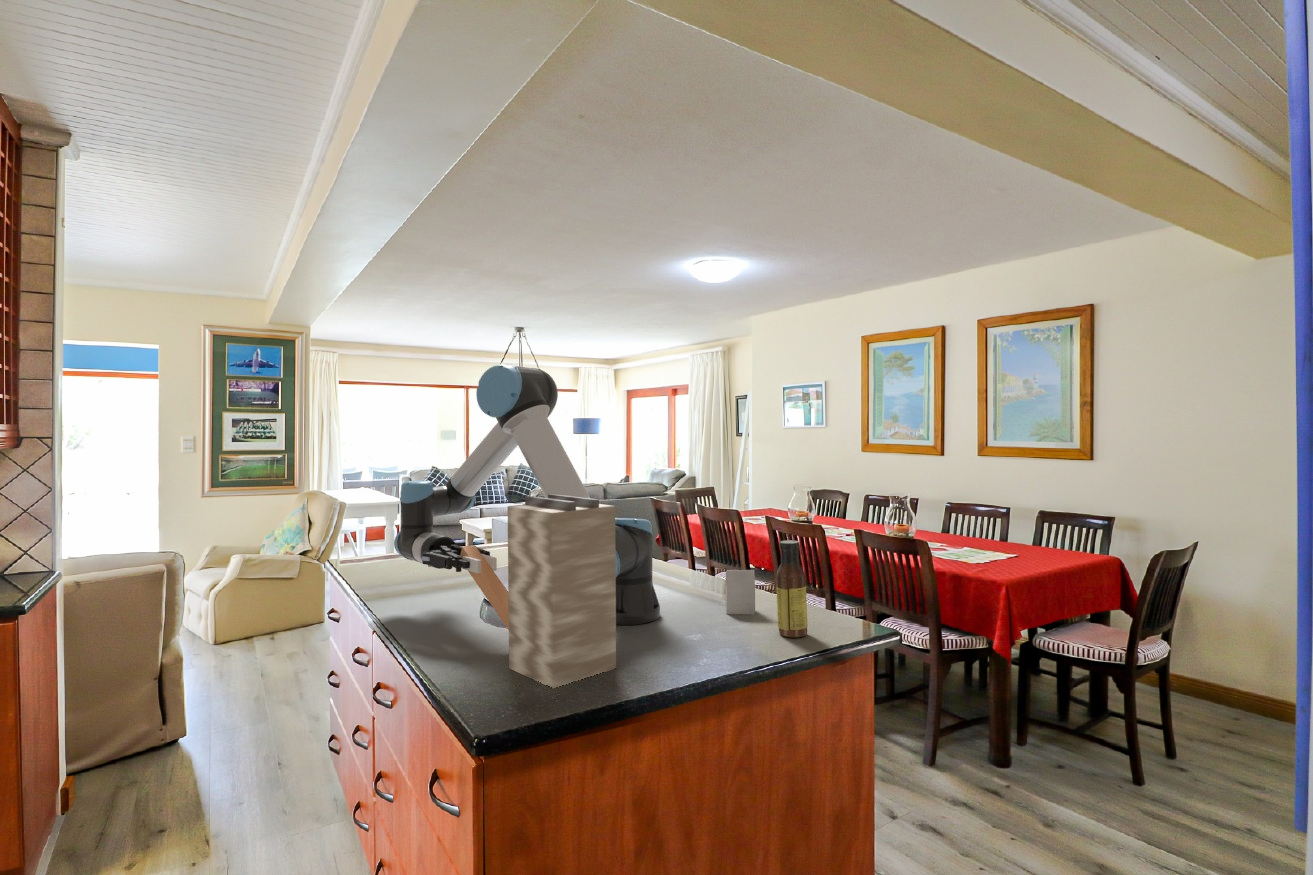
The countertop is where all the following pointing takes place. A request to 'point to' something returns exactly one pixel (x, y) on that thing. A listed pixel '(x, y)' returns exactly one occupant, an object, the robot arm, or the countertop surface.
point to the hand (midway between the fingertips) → (487, 565)
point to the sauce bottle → (791, 592)
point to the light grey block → (740, 592)
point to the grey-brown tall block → (561, 588)
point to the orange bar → (489, 584)
